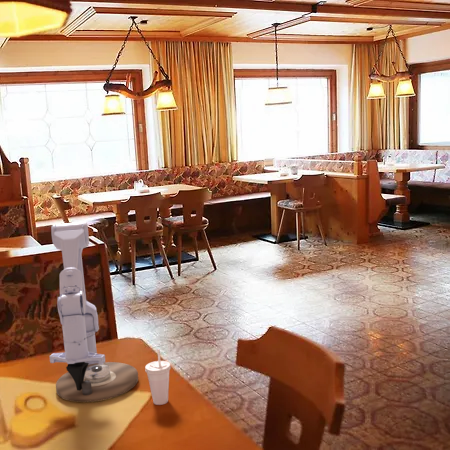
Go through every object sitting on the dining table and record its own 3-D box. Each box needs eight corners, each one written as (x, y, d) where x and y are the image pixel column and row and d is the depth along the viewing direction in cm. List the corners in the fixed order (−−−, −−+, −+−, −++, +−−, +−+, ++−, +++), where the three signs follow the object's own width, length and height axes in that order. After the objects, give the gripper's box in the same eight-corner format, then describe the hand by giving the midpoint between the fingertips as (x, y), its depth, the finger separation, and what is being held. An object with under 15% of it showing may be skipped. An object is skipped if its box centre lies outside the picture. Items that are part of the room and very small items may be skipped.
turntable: (42, 384, 163) (41, 369, 162) (112, 360, 177) (111, 346, 176) (79, 410, 146) (78, 393, 146) (153, 381, 160) (152, 366, 160)
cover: (80, 378, 162) (78, 368, 161) (102, 370, 166) (101, 360, 166) (92, 386, 157) (91, 375, 156) (115, 377, 161) (114, 367, 161)
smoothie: (169, 407, 146) (164, 354, 144) (144, 406, 148) (139, 353, 145) (176, 396, 152) (172, 344, 150) (152, 395, 154) (148, 344, 151)
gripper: (41, 344, 149) (47, 394, 151) (95, 345, 145) (100, 396, 148) (55, 334, 155) (60, 382, 158) (106, 335, 152) (111, 384, 155)
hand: (80, 388), depth 153 cm, fingers closed
